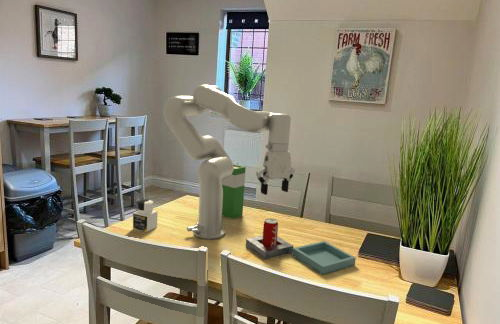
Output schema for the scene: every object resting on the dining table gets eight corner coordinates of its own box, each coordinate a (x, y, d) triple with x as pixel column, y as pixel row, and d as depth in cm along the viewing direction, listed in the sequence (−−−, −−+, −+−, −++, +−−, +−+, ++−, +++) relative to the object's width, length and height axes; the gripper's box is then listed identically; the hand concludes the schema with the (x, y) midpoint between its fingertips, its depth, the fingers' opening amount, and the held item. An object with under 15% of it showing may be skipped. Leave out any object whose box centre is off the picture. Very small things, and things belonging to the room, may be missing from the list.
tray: (322, 275, 121) (323, 266, 121) (292, 255, 134) (292, 248, 134) (354, 265, 130) (355, 257, 129) (323, 248, 143) (324, 240, 142)
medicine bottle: (132, 229, 149) (132, 201, 147) (143, 223, 156) (144, 197, 153) (146, 232, 147) (147, 204, 144) (157, 227, 153) (158, 199, 151)
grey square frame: (264, 259, 130) (265, 252, 129) (245, 245, 140) (246, 238, 140) (292, 253, 137) (293, 245, 136) (272, 240, 147) (273, 233, 147)
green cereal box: (205, 209, 179) (207, 162, 174) (215, 206, 185) (217, 160, 180) (232, 219, 169) (235, 169, 164) (242, 215, 175) (245, 166, 170)
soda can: (271, 254, 135) (274, 223, 132) (259, 250, 137) (261, 220, 135) (278, 249, 139) (281, 219, 137) (266, 245, 142) (268, 216, 140)
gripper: (264, 149, 124) (261, 197, 127) (302, 148, 133) (298, 192, 137) (252, 146, 130) (249, 192, 133) (289, 145, 139) (286, 187, 143)
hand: (274, 192), depth 135 cm, fingers open, 9 cm apart
